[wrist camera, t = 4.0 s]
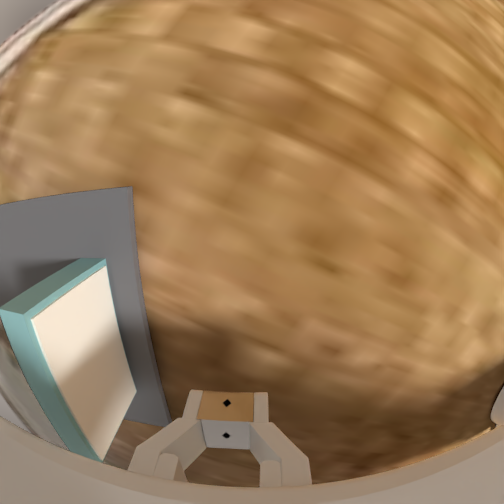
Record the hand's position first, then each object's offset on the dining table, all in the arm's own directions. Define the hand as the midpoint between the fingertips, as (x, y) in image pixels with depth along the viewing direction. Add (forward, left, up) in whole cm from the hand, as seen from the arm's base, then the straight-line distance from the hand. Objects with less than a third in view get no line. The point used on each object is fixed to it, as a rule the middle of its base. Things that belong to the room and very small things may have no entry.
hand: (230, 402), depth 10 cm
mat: (+12, 0, -5) cm, 13 cm away
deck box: (+8, 0, -4) cm, 9 cm away
